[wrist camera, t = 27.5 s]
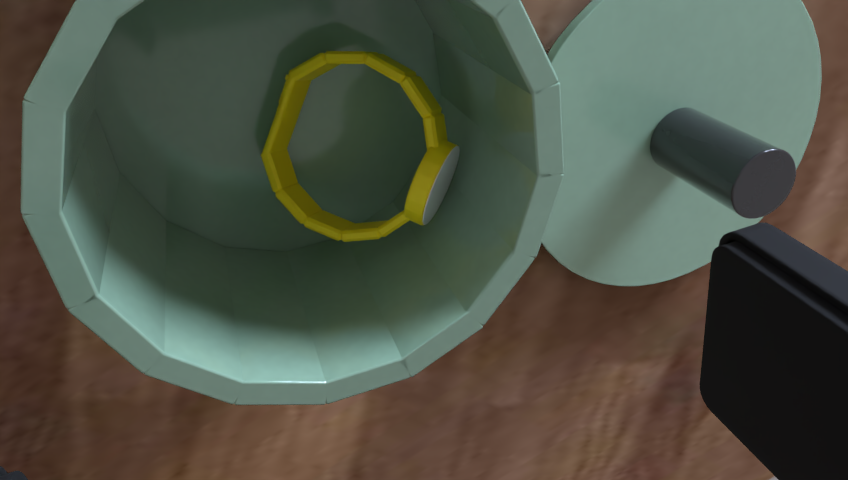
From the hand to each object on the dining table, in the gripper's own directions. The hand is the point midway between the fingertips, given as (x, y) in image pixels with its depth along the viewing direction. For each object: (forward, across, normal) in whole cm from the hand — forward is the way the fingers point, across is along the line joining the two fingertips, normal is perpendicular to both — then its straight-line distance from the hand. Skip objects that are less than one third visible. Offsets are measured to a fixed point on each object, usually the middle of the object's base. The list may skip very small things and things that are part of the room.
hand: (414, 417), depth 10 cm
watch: (+16, 0, +1) cm, 16 cm away
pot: (+17, 0, +1) cm, 17 cm away
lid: (+16, -16, +6) cm, 23 cm away
